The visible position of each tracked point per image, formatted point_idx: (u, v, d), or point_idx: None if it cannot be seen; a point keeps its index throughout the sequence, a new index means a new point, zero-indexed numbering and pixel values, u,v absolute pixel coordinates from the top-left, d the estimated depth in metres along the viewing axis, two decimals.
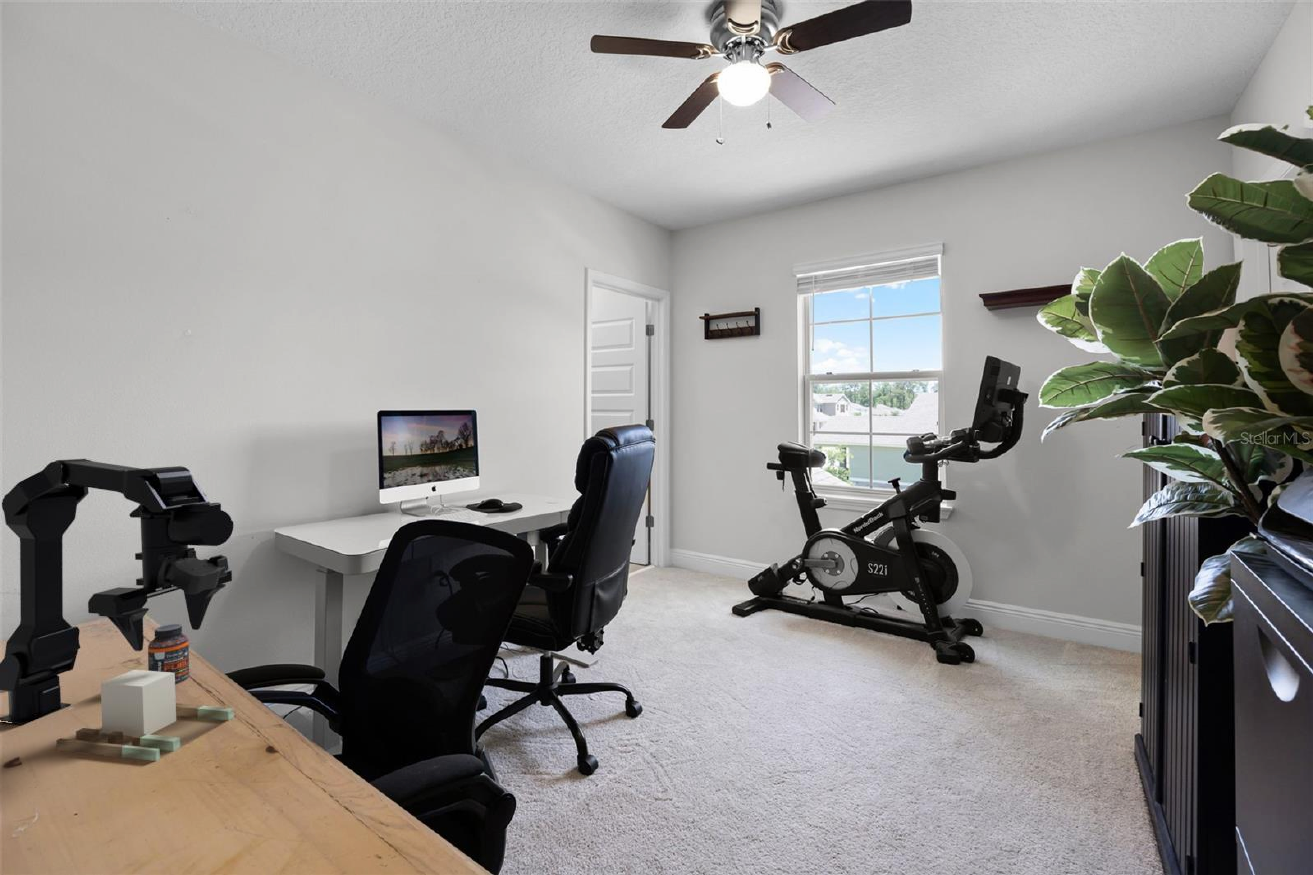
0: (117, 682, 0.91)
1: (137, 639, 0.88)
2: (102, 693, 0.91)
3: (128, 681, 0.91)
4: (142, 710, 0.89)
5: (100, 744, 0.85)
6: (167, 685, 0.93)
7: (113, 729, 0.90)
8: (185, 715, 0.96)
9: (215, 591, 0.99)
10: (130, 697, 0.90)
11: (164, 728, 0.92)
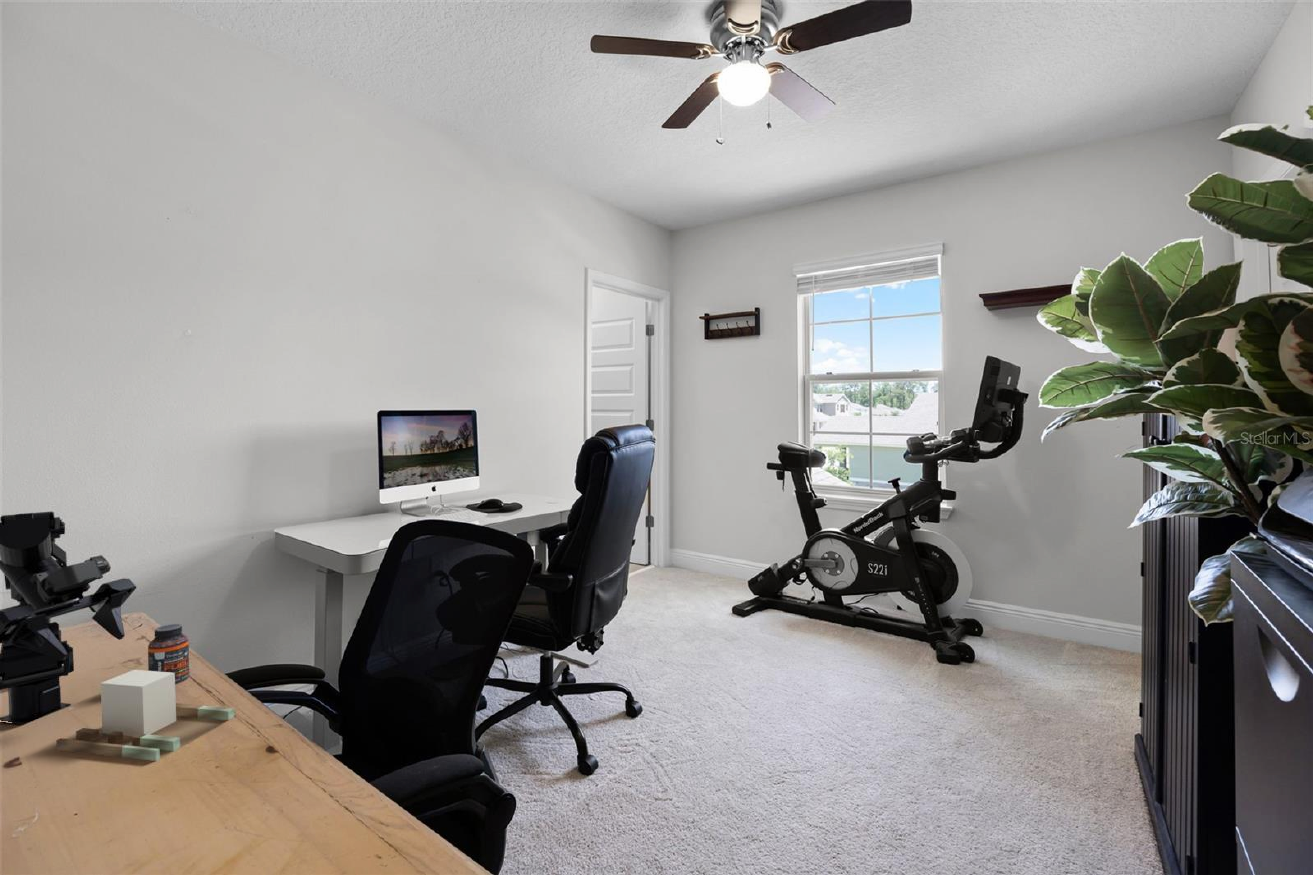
0: (117, 682, 0.91)
1: (54, 646, 0.89)
2: (102, 693, 0.91)
3: (128, 681, 0.91)
4: (142, 710, 0.89)
5: (100, 744, 0.85)
6: (167, 685, 0.93)
7: (113, 729, 0.90)
8: (185, 715, 0.96)
9: (118, 599, 1.00)
10: (130, 697, 0.90)
11: (164, 728, 0.92)
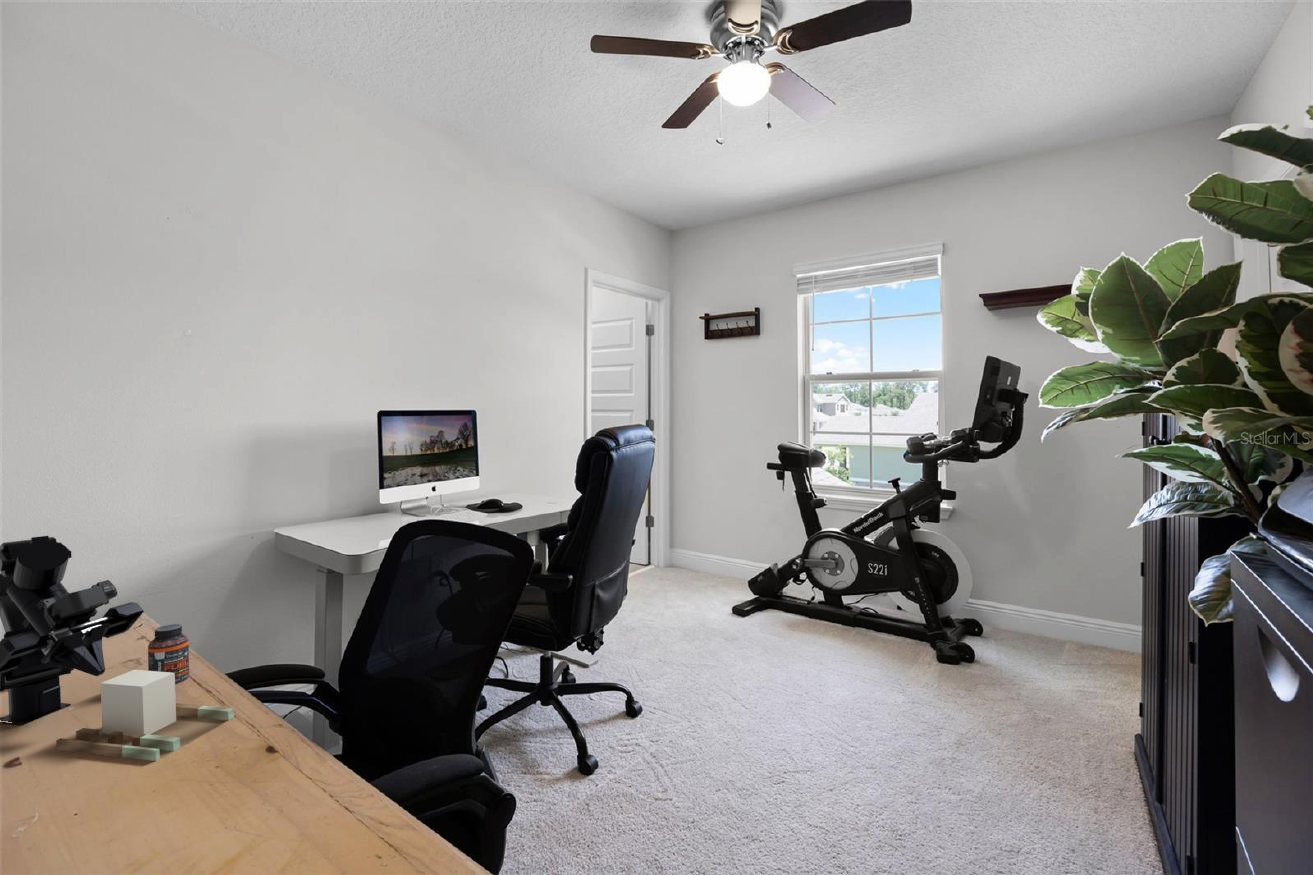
0: (117, 682, 0.91)
1: (89, 663, 0.92)
2: (102, 693, 0.91)
3: (128, 681, 0.91)
4: (142, 710, 0.89)
5: (100, 744, 0.85)
6: (167, 685, 0.93)
7: (113, 729, 0.90)
8: (185, 715, 0.96)
9: (100, 631, 0.95)
10: (130, 697, 0.90)
11: (164, 728, 0.92)
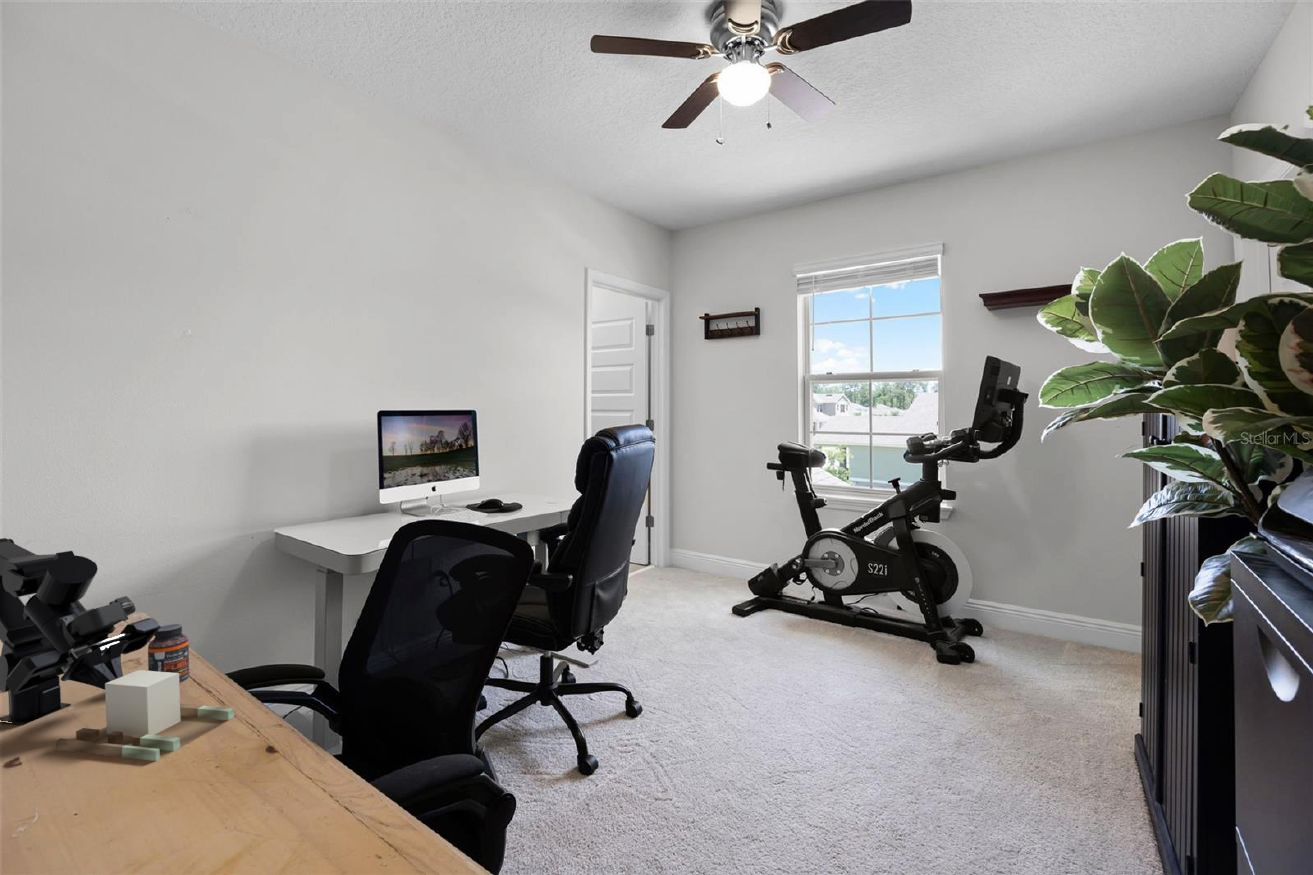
0: (121, 682, 0.91)
1: (109, 680, 0.92)
2: (106, 693, 0.90)
3: (133, 682, 0.91)
4: (146, 710, 0.89)
5: (100, 744, 0.85)
6: (171, 685, 0.93)
7: (118, 730, 0.90)
8: (185, 715, 0.96)
9: (118, 648, 0.95)
10: (134, 697, 0.89)
11: None
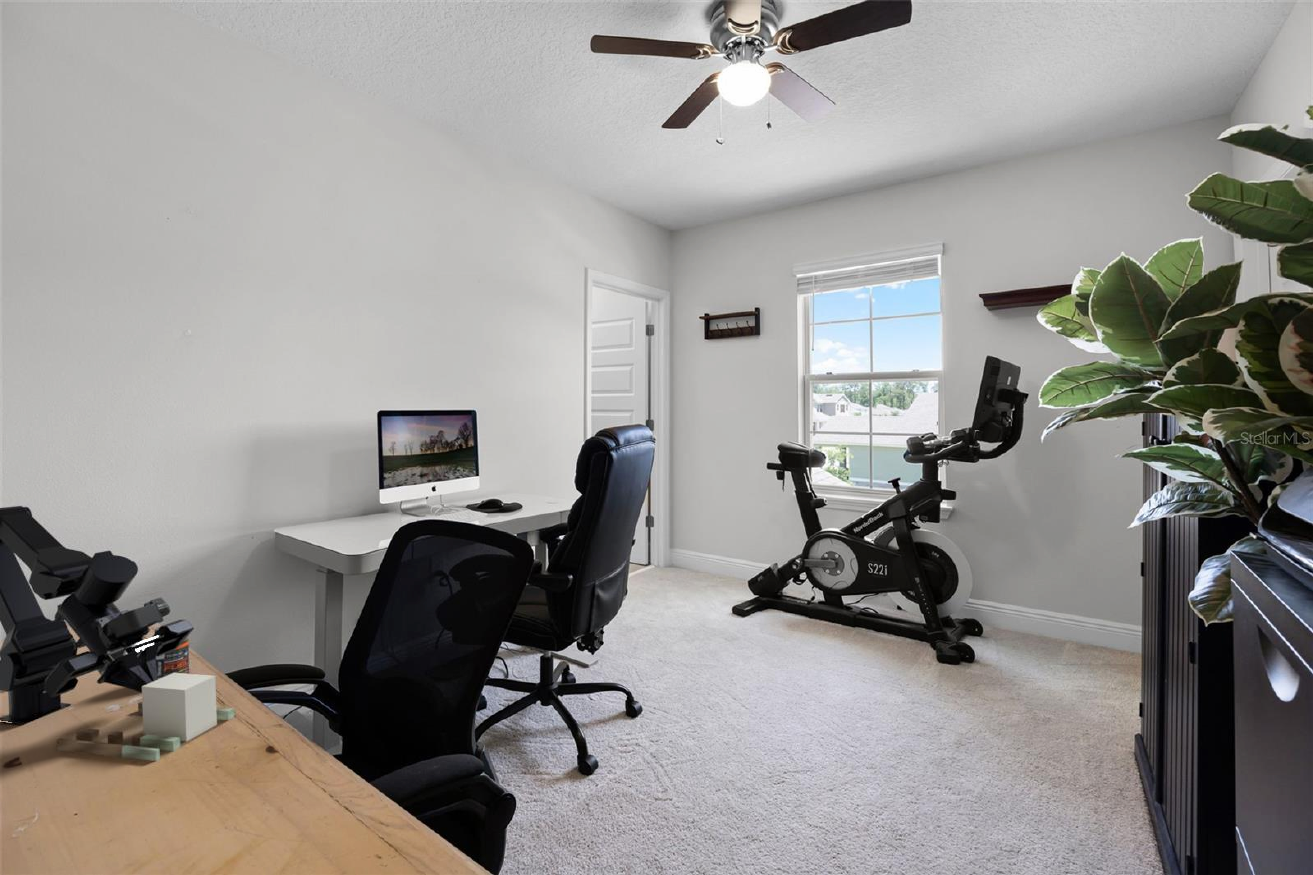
0: (158, 685, 0.90)
1: (145, 682, 0.91)
2: (143, 697, 0.89)
3: (170, 685, 0.90)
4: (184, 713, 0.88)
5: (100, 744, 0.85)
6: (208, 688, 0.92)
7: (155, 733, 0.89)
8: None
9: (153, 650, 0.94)
10: (172, 701, 0.88)
11: None
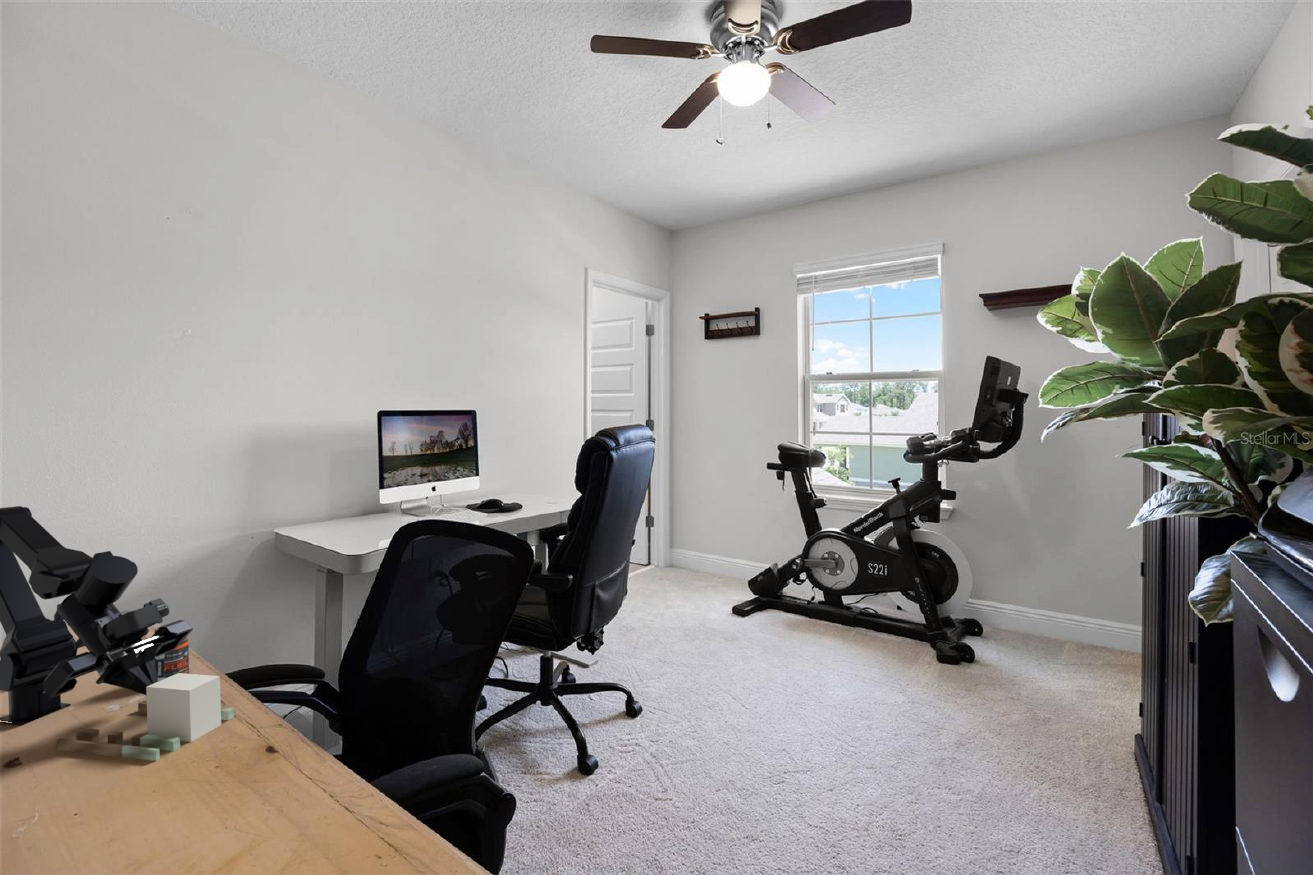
0: (163, 685, 0.89)
1: (144, 683, 0.91)
2: (148, 697, 0.89)
3: (174, 685, 0.89)
4: (189, 714, 0.88)
5: (100, 744, 0.85)
6: (213, 689, 0.91)
7: (159, 734, 0.89)
8: None
9: (152, 651, 0.94)
10: (176, 701, 0.88)
11: None
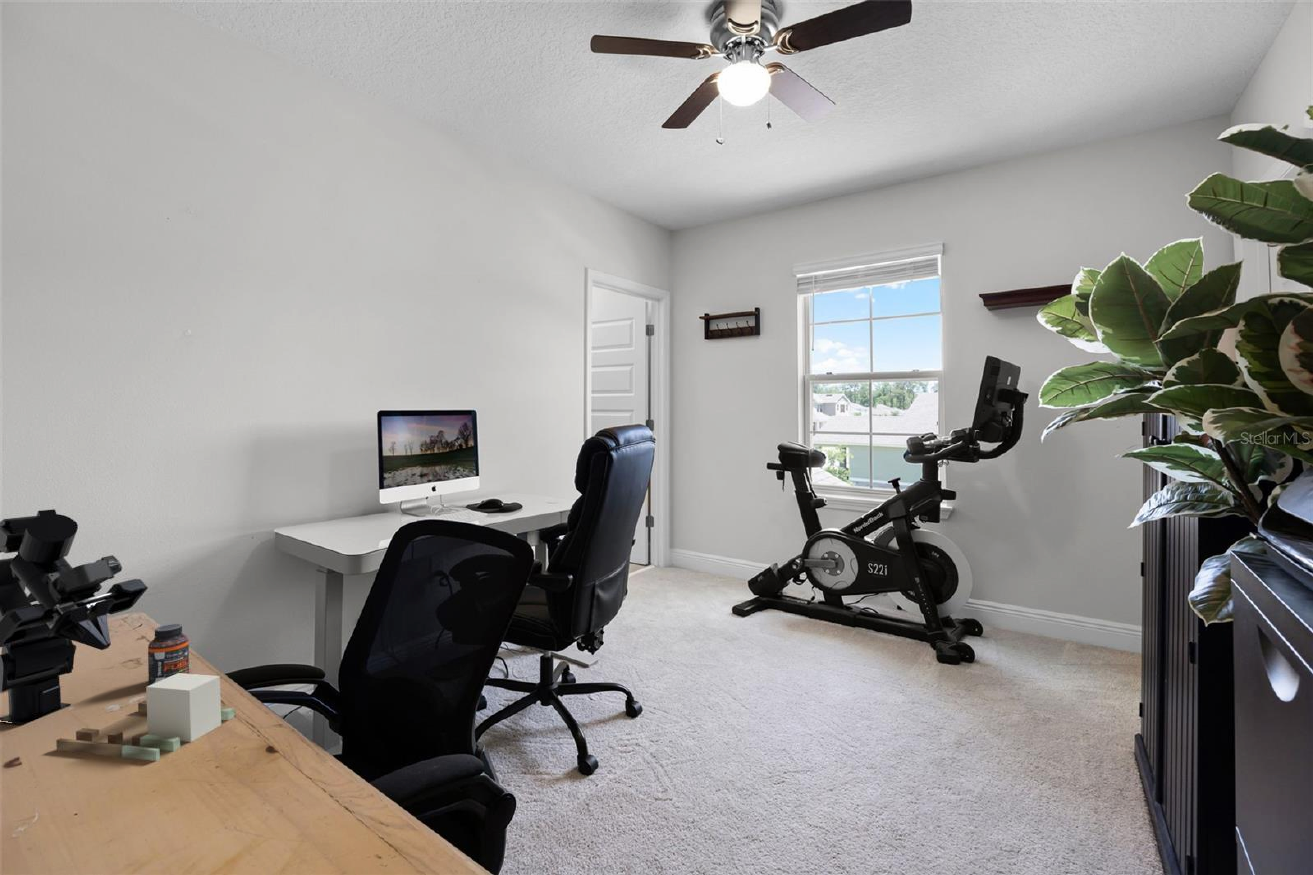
0: (163, 685, 0.89)
1: (95, 636, 0.92)
2: (148, 697, 0.89)
3: (174, 685, 0.89)
4: (189, 714, 0.88)
5: (100, 744, 0.85)
6: (213, 689, 0.91)
7: (159, 734, 0.89)
8: None
9: (104, 606, 0.95)
10: (176, 701, 0.88)
11: None
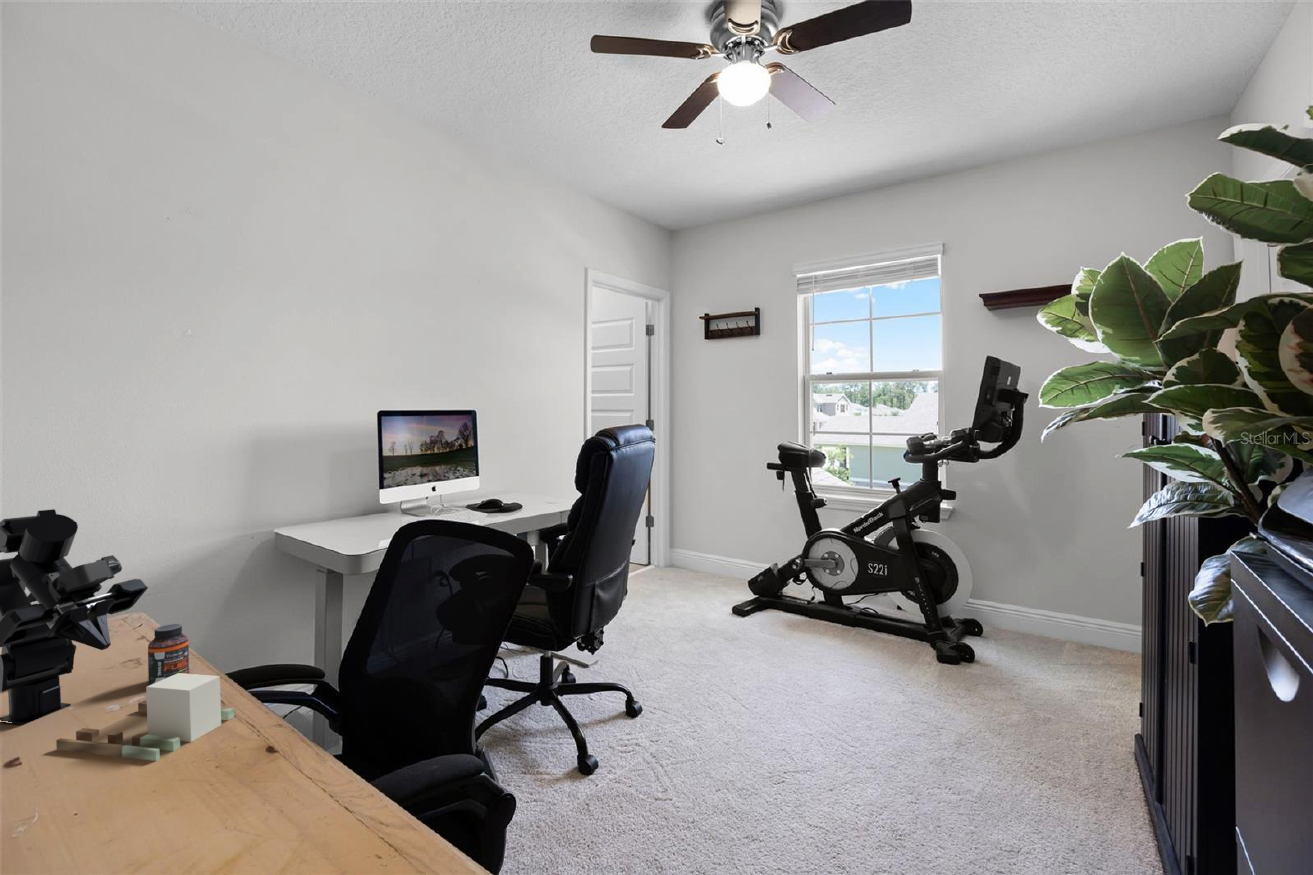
0: (163, 685, 0.89)
1: (95, 636, 0.92)
2: (148, 697, 0.89)
3: (174, 685, 0.89)
4: (189, 714, 0.88)
5: (100, 744, 0.85)
6: (213, 689, 0.91)
7: (159, 734, 0.89)
8: None
9: (104, 606, 0.95)
10: (176, 701, 0.88)
11: None
